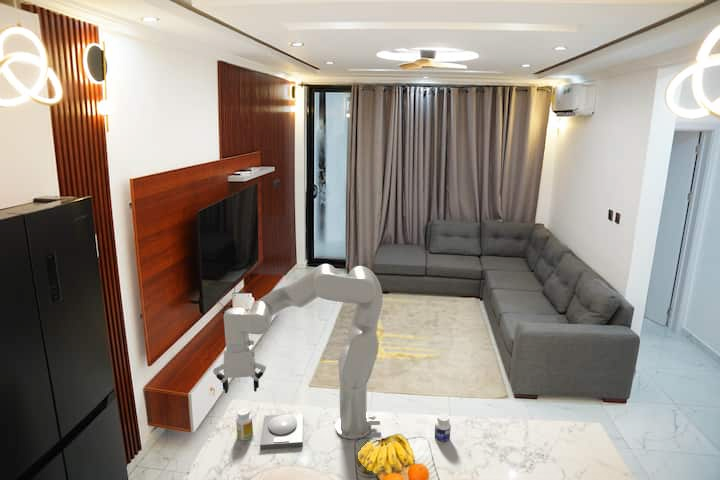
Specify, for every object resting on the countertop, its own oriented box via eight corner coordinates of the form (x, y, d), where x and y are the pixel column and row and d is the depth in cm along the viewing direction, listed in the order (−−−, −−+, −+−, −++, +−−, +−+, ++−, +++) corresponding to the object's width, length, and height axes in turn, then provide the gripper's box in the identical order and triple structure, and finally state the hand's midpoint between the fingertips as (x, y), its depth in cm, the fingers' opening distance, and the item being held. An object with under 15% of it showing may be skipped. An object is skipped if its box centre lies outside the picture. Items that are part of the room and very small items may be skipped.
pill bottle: (431, 439, 170) (432, 416, 168) (440, 432, 174) (442, 410, 171) (443, 446, 166) (444, 424, 164) (453, 439, 170) (454, 417, 167)
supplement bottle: (255, 431, 175) (253, 407, 172) (250, 441, 170) (248, 416, 167) (240, 430, 175) (238, 406, 173) (235, 440, 170) (233, 416, 167)
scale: (303, 417, 182) (302, 411, 181) (302, 447, 167) (302, 440, 166) (264, 420, 181) (264, 413, 180) (260, 449, 165) (260, 442, 164)
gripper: (265, 338, 167) (268, 382, 172) (213, 340, 165) (217, 385, 170) (263, 348, 160) (266, 395, 165) (208, 351, 158) (213, 398, 163)
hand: (241, 390), depth 167 cm, fingers open, 9 cm apart
